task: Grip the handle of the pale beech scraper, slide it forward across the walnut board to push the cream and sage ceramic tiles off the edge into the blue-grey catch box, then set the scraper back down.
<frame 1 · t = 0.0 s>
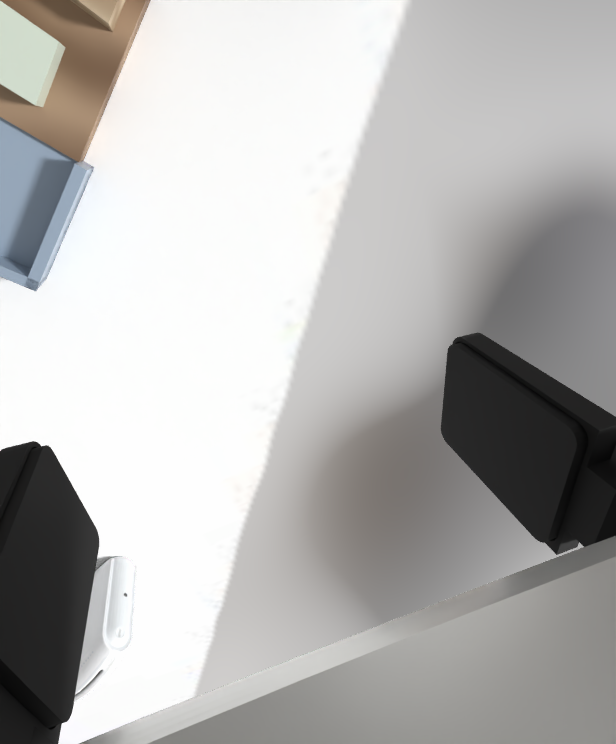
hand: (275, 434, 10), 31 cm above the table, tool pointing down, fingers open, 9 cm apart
photo printer: (102, 579, 53), on the table
sage tile: (19, 55, 26), point 2 cm above the table, touching walnut board
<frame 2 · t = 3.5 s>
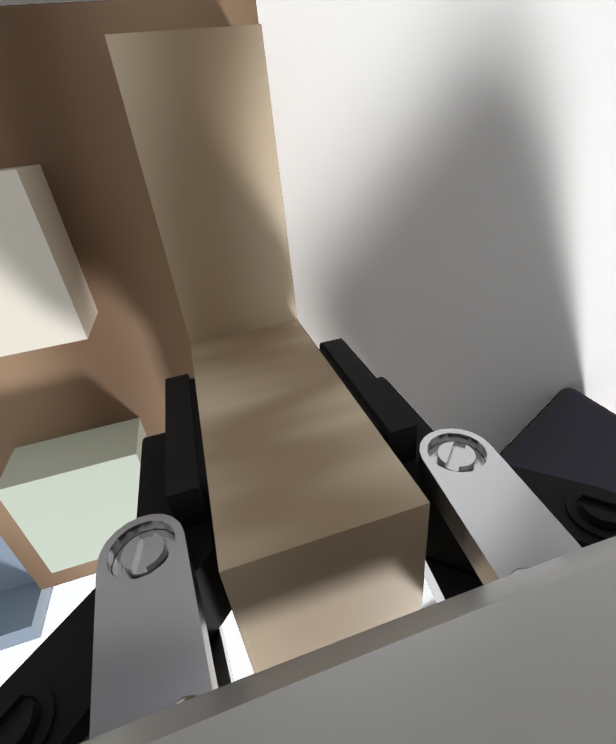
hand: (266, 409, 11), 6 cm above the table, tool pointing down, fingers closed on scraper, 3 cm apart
scraper: (241, 342, 14), point 2 cm above the table, touching gripper, walnut board
walnut board: (125, 343, 15), on the table
sage tile: (100, 474, 15), point 2 cm above the table, touching walnut board
calculator: (509, 459, 26), on the table
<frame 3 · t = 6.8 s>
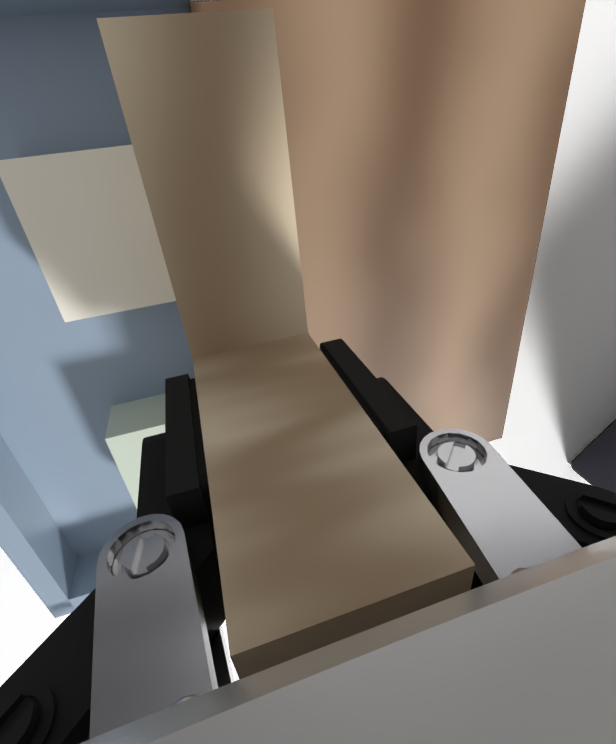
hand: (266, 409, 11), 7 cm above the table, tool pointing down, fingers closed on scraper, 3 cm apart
scraper: (246, 353, 13), point 4 cm above the table, touching gripper
cream tile: (122, 223, 12), point 1 cm above the table, touching catch box
walnut board: (380, 284, 18), on the table
catch box: (111, 339, 15), on the table
sage tile: (180, 433, 17), point 1 cm above the table, touching catch box
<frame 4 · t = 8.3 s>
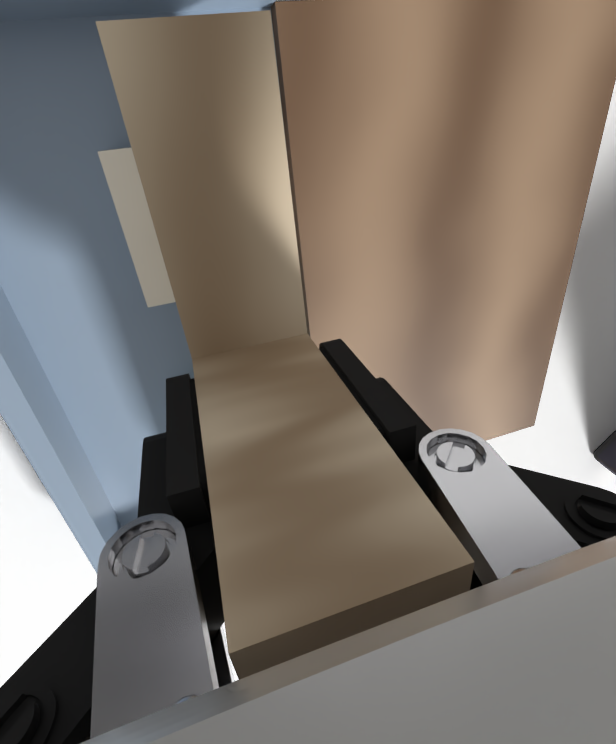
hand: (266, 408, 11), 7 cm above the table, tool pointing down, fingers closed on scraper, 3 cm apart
scraper: (245, 354, 13), point 4 cm above the table, touching gripper
cream tile: (195, 213, 13), point 1 cm above the table, touching catch box
walnut board: (424, 275, 18), on the table
catch box: (170, 327, 16), on the table
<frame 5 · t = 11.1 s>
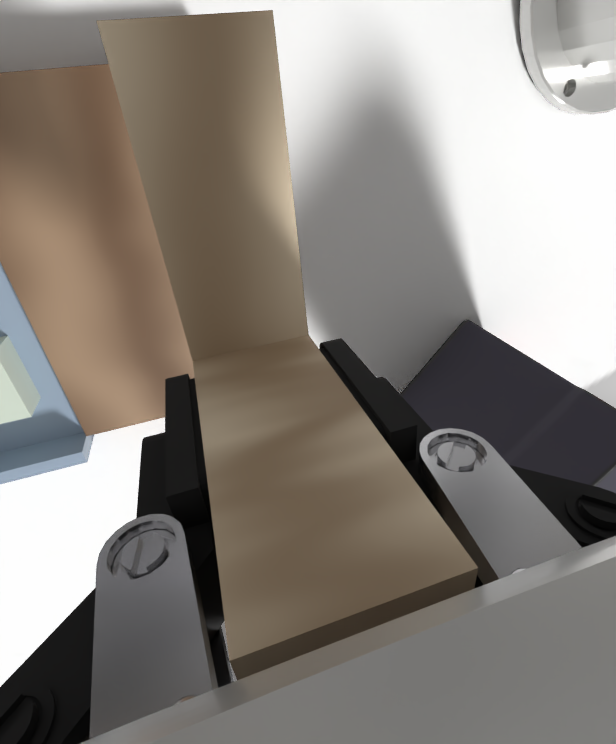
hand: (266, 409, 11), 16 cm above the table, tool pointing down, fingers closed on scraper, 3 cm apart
scraper: (246, 355, 13), point 13 cm above the table, touching gripper
walnut board: (143, 266, 23), on the table
calculator: (428, 378, 34), on the table
when the fingers open (7 cm above the table, at t = 13.3 s): scraper drops 2 cm, resting on walnut board.
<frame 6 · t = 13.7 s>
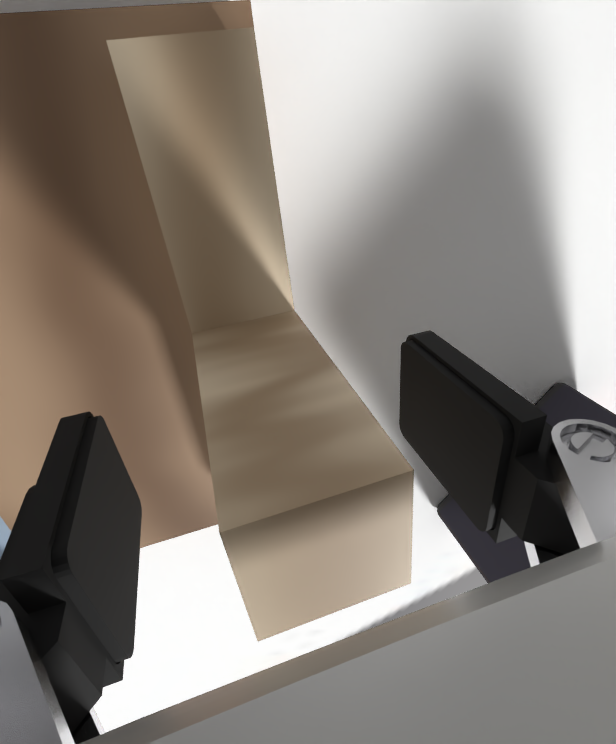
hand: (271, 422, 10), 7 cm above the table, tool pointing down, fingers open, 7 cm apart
scraper: (241, 333, 15), point 2 cm above the table, touching walnut board
walnut board: (126, 336, 16), on the table
calculator: (503, 453, 26), on the table
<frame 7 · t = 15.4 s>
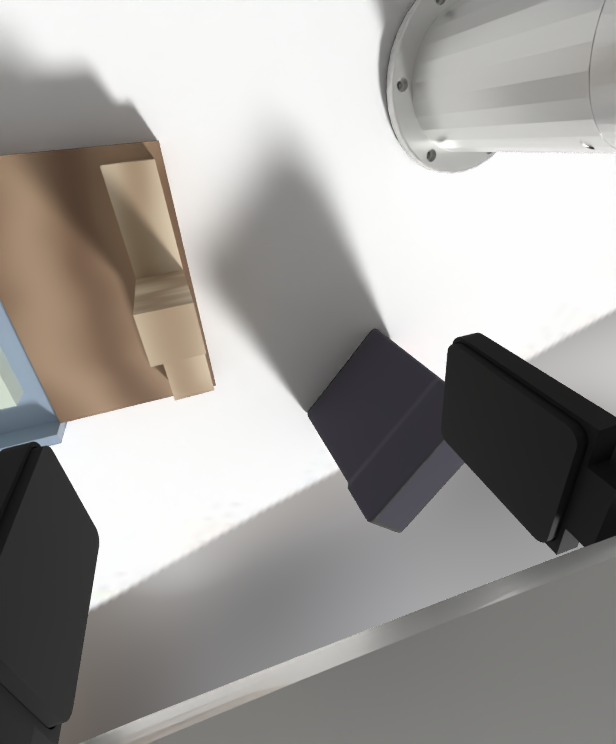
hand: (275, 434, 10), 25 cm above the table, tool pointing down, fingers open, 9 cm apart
scraper: (164, 285, 30), point 2 cm above the table, touching walnut board
walnut board: (106, 288, 30), on the table
calculator: (348, 377, 42), on the table
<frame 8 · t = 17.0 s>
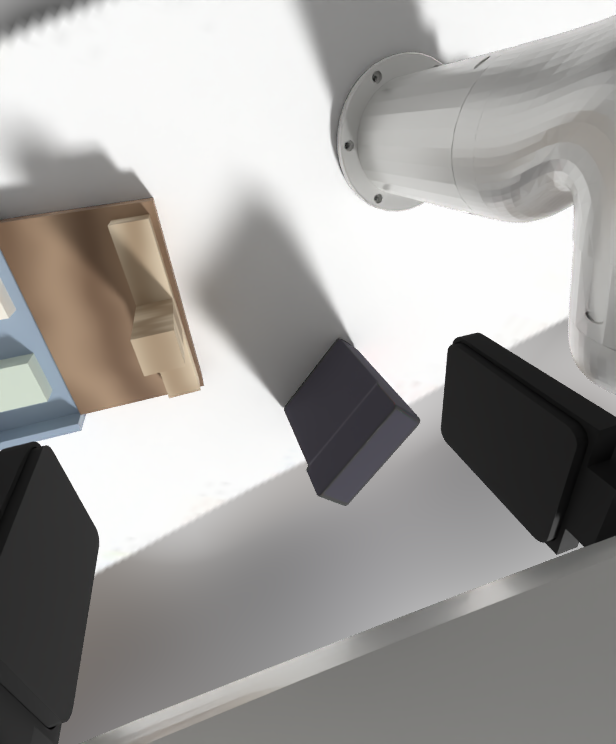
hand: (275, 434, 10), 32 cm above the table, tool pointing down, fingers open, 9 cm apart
scraper: (160, 308, 38), point 2 cm above the table, touching walnut board
walnut board: (115, 310, 39), on the table
sage tile: (19, 377, 37), point 1 cm above the table, touching catch box
calculator: (319, 378, 49), on the table
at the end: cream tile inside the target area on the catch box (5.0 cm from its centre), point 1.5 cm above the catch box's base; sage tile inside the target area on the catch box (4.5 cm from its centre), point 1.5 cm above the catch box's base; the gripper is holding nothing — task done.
